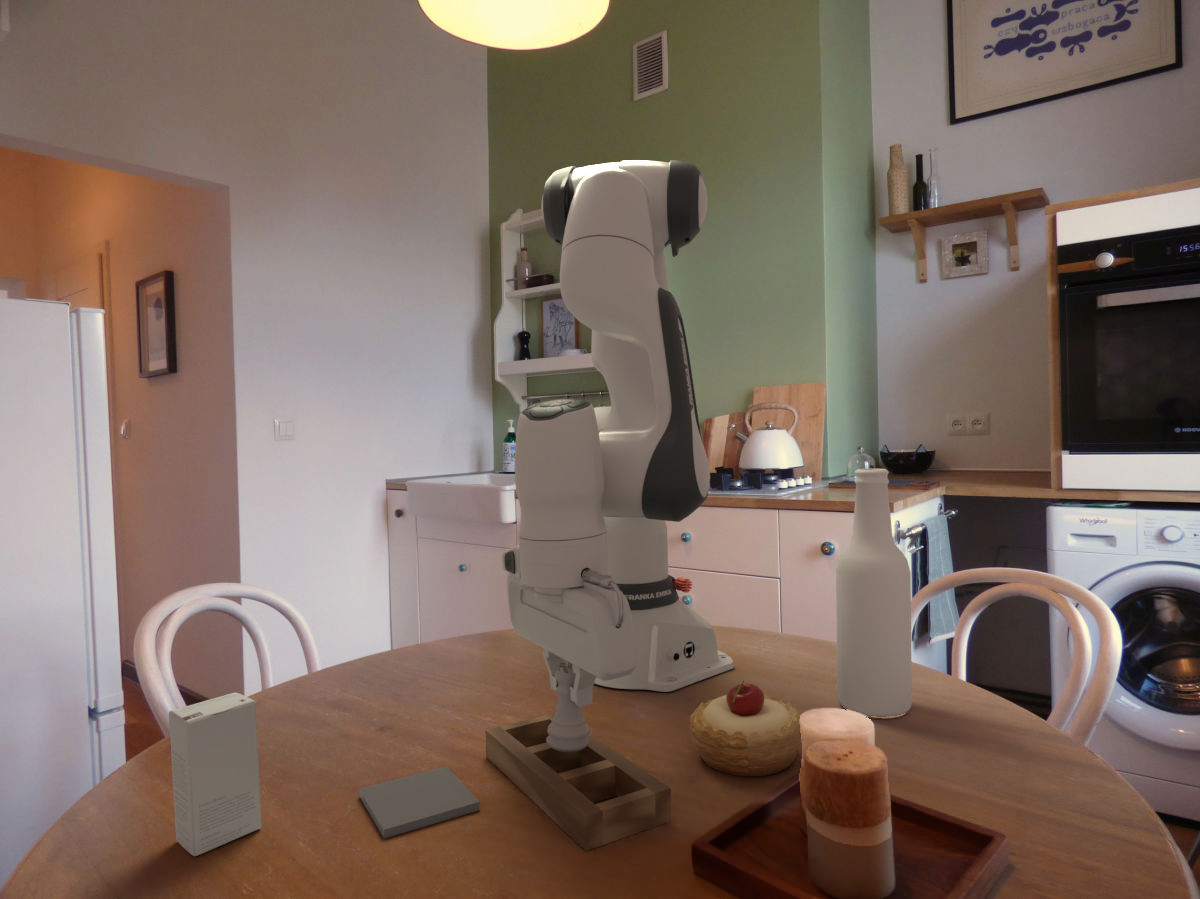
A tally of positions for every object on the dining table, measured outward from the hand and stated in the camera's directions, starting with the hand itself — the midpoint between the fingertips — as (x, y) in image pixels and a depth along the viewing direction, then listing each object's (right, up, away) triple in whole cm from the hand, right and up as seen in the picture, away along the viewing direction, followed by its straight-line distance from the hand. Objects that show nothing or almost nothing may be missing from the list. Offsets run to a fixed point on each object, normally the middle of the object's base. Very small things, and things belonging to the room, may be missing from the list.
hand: (571, 697), depth 76 cm
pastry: (+19, -9, +5) cm, 21 cm away
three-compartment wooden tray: (0, -9, 0) cm, 9 cm away
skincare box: (-31, -10, -9) cm, 34 cm away
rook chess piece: (0, -5, 0) cm, 5 cm away
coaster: (-15, -9, -3) cm, 18 cm away
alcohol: (+37, -8, +19) cm, 42 cm away
